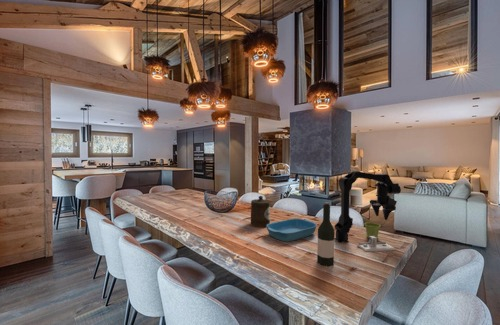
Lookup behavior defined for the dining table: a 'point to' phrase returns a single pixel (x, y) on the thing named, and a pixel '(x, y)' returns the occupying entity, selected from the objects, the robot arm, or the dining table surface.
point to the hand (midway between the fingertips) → (381, 217)
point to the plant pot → (372, 229)
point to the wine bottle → (326, 239)
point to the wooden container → (260, 212)
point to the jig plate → (380, 246)
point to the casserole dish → (291, 229)
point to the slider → (372, 241)
